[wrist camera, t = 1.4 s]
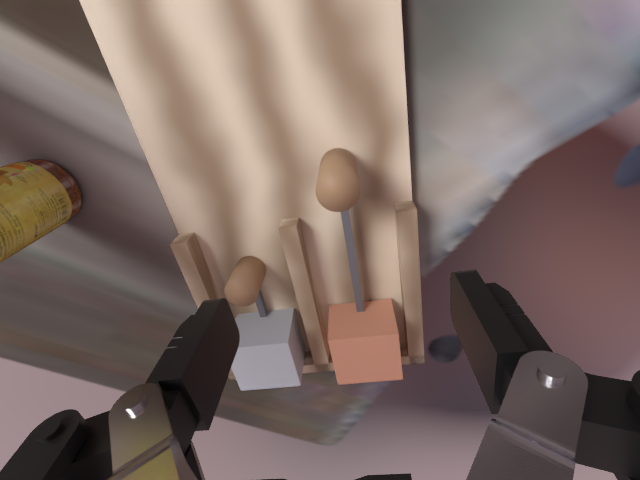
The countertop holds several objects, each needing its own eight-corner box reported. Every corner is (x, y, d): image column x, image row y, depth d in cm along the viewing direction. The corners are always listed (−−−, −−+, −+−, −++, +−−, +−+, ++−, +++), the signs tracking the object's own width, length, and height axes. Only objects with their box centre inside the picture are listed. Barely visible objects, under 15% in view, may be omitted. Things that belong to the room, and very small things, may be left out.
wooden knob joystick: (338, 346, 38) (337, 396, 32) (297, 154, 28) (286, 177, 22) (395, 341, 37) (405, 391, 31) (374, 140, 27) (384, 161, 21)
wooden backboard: (236, 359, 41) (229, 379, 38) (65, -55, 23) (29, -70, 20) (418, 342, 38) (424, 363, 36) (390, -146, 20) (397, -178, 17)
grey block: (252, 353, 39) (241, 390, 35) (216, 260, 33) (197, 290, 29) (305, 348, 38) (300, 385, 34) (278, 251, 32) (269, 281, 28)
